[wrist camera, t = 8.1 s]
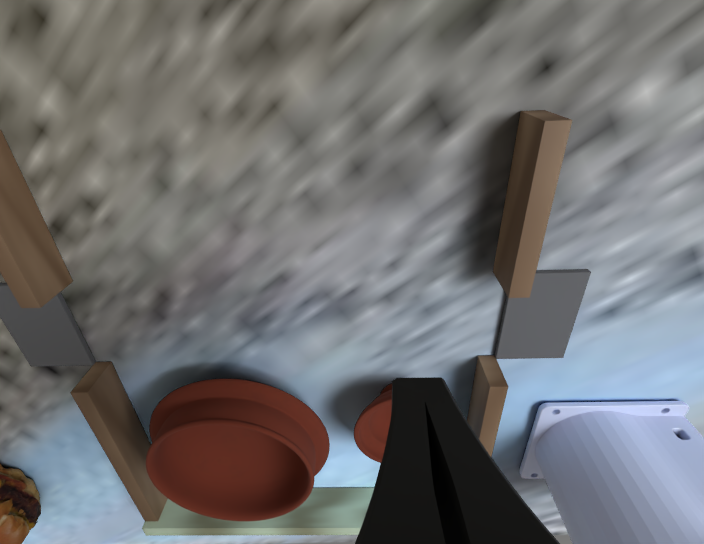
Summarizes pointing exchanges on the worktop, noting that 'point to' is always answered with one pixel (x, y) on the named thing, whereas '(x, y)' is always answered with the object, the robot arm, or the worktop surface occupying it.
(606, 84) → the worktop surface
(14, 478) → the burger
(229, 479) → the pottery
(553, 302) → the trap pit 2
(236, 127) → the worktop surface
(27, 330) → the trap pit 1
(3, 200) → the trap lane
